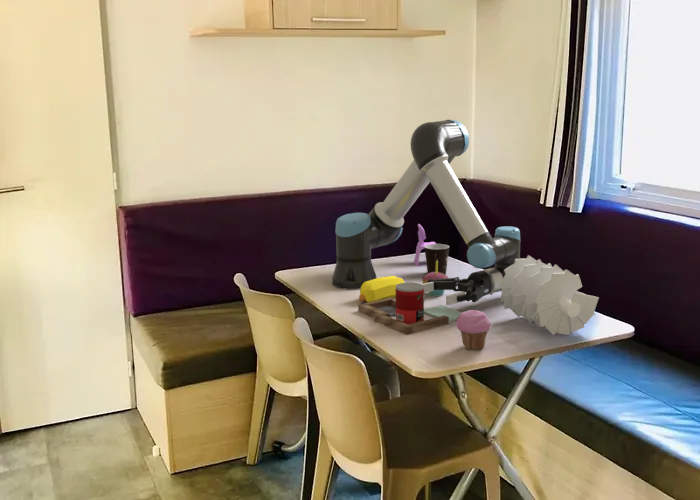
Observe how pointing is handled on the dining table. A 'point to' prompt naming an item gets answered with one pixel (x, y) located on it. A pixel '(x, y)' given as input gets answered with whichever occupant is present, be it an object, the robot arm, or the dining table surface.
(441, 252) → the coffee mug
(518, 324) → the dining table surface
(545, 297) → the spiral staircase
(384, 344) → the dining table surface
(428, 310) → the pad
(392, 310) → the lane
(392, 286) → the yellow faceted block
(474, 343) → the cupcake
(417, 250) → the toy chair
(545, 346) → the dining table surface
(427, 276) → the cupcake
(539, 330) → the dining table surface
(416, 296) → the canned food
